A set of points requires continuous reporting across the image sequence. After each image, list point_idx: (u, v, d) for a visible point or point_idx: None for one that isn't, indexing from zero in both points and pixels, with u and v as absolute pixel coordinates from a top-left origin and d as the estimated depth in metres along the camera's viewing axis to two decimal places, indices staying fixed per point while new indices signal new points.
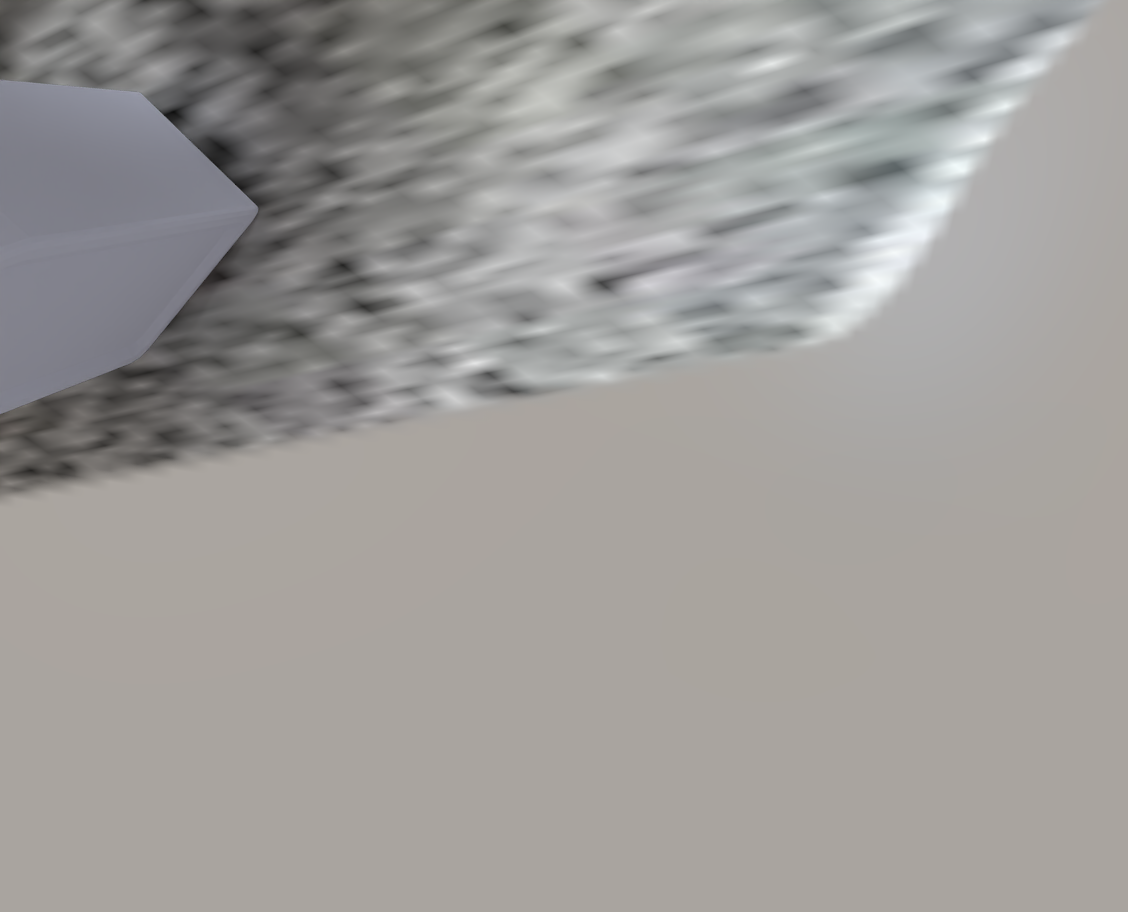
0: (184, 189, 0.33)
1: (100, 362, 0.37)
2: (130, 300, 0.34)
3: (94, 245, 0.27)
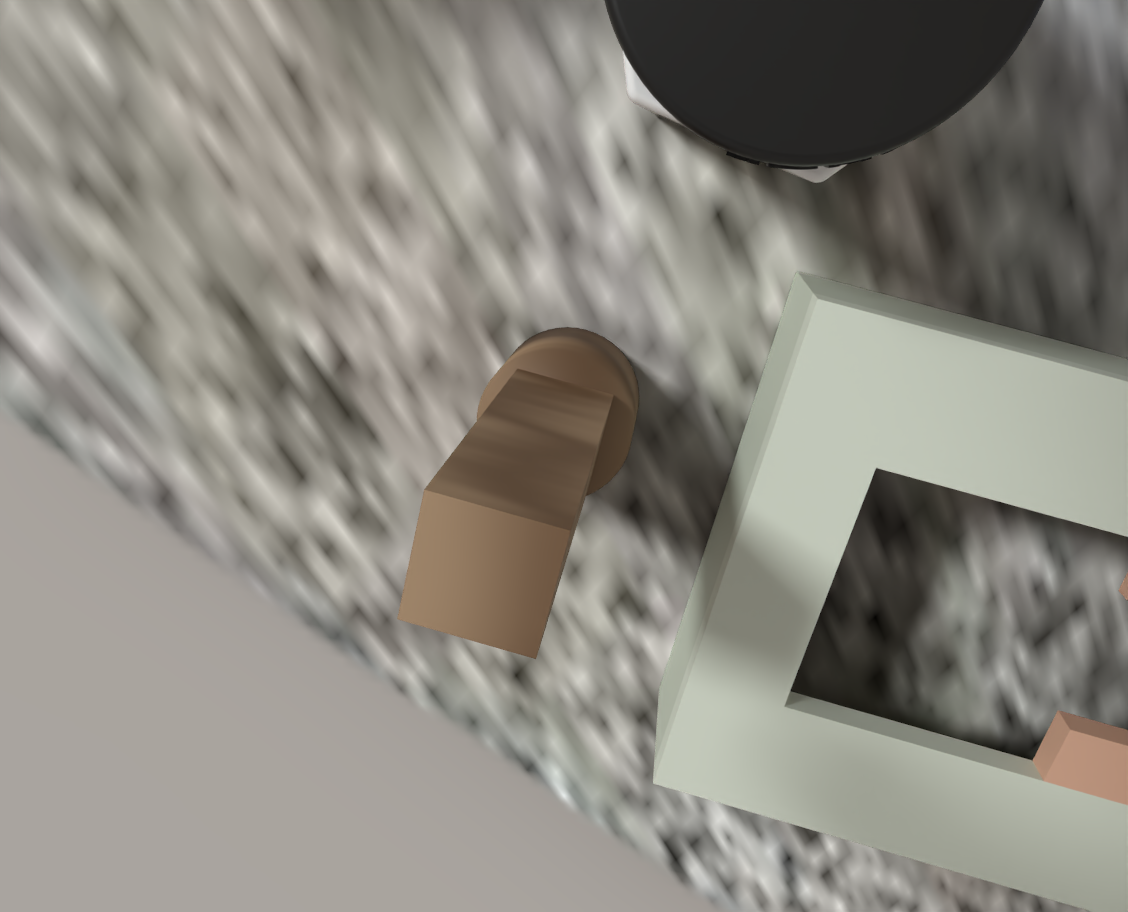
0: None
1: None
2: None
3: None
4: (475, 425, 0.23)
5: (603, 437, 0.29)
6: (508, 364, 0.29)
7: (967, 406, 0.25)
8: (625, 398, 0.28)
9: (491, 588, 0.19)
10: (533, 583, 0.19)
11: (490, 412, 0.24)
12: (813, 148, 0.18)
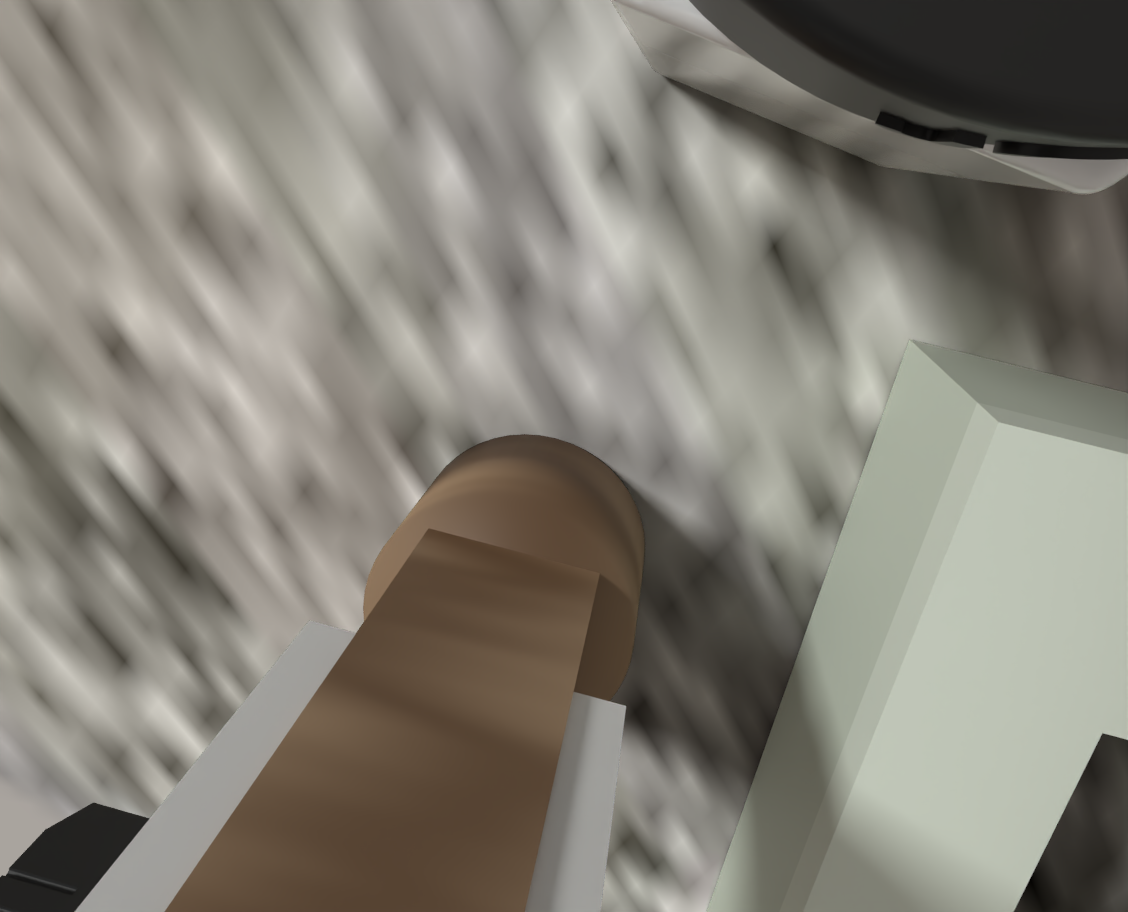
0: None
1: None
2: None
3: None
4: (289, 736, 0.10)
5: (583, 643, 0.16)
6: (412, 521, 0.16)
7: None
8: (620, 579, 0.16)
9: None
10: None
11: (339, 678, 0.12)
12: None
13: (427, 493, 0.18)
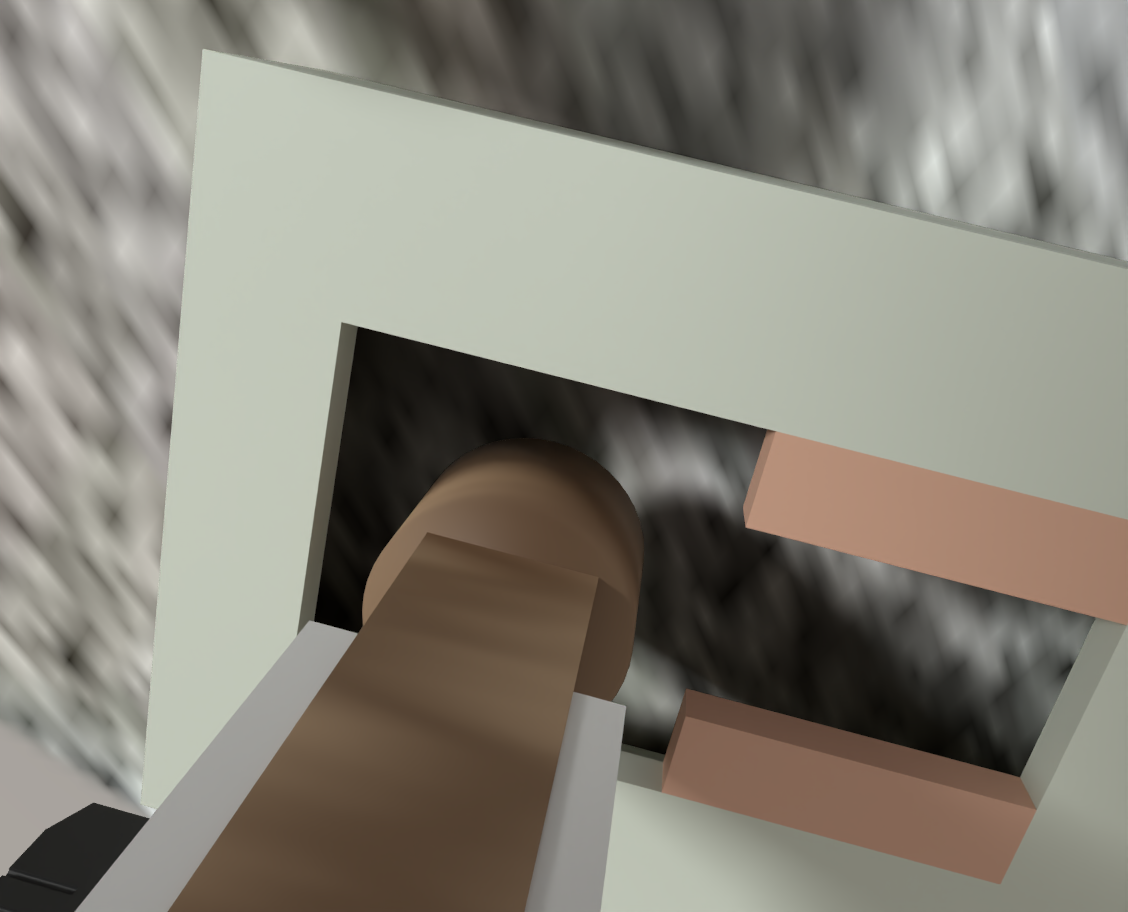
0: None
1: None
2: None
3: None
4: (287, 742, 0.10)
5: (582, 647, 0.16)
6: (411, 525, 0.16)
7: (453, 216, 0.16)
8: (619, 583, 0.16)
9: None
10: None
11: (337, 683, 0.12)
12: None
13: (426, 496, 0.18)
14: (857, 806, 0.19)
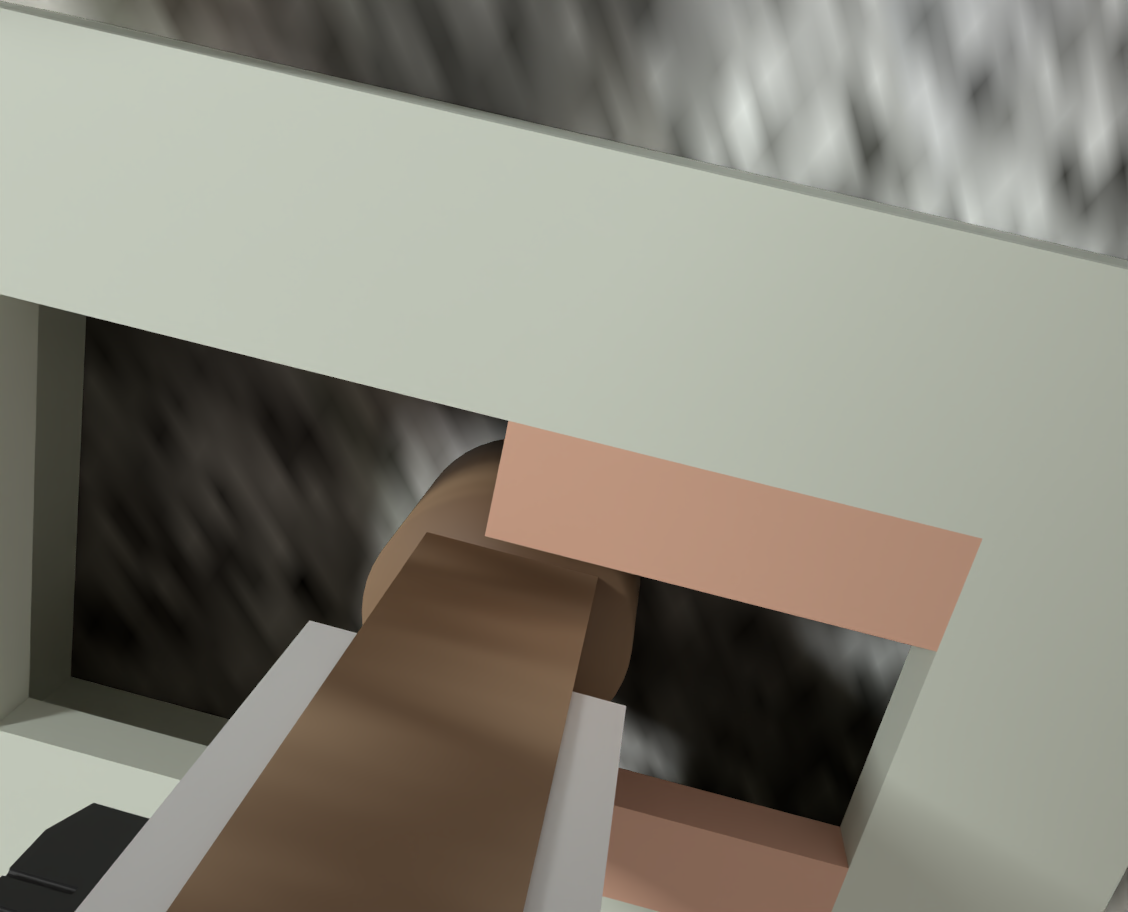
0: None
1: None
2: None
3: None
4: (286, 741, 0.10)
5: (582, 647, 0.16)
6: (411, 525, 0.16)
7: (108, 162, 0.13)
8: (619, 583, 0.16)
9: None
10: None
11: (336, 683, 0.12)
12: None
13: (425, 496, 0.18)
14: (644, 863, 0.16)
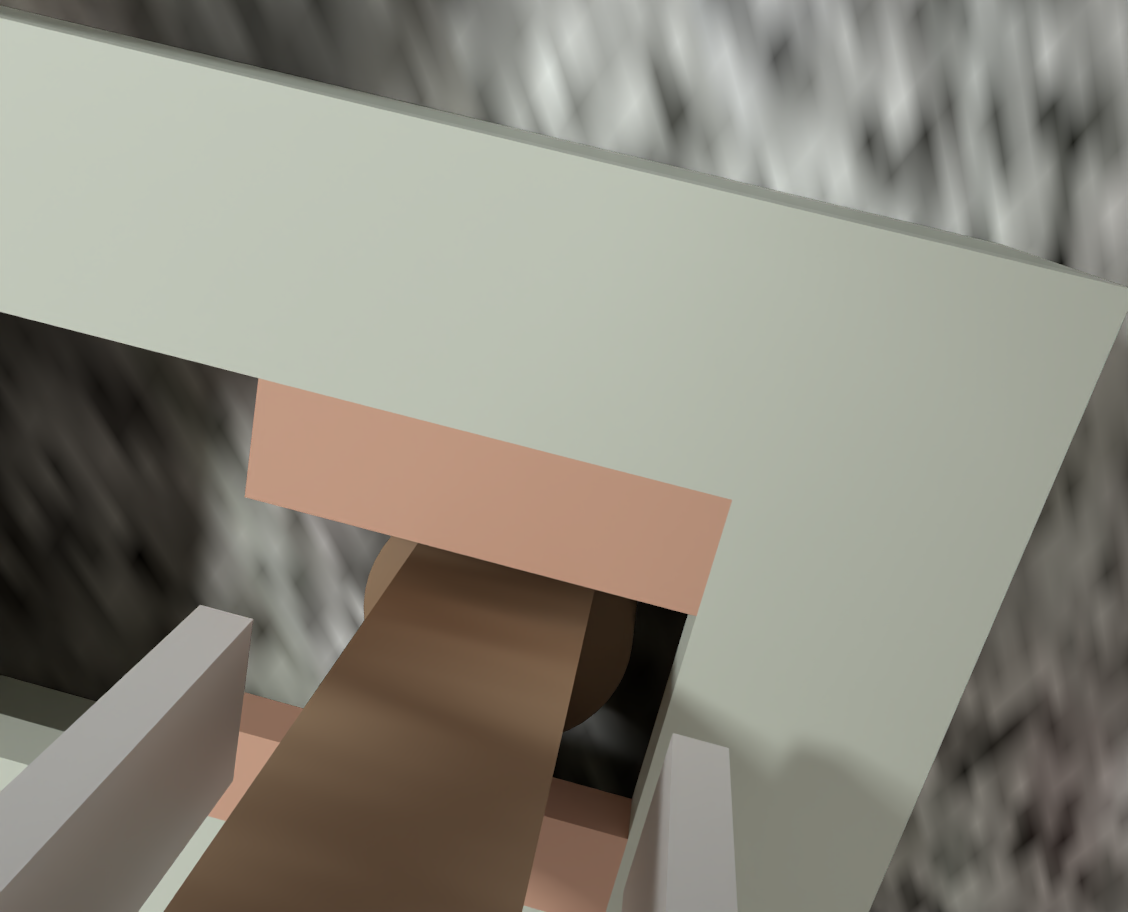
0: None
1: None
2: None
3: None
4: (290, 732, 0.11)
5: (582, 642, 0.16)
6: None
7: None
8: None
9: None
10: None
11: (340, 675, 0.12)
12: None
13: None
14: None
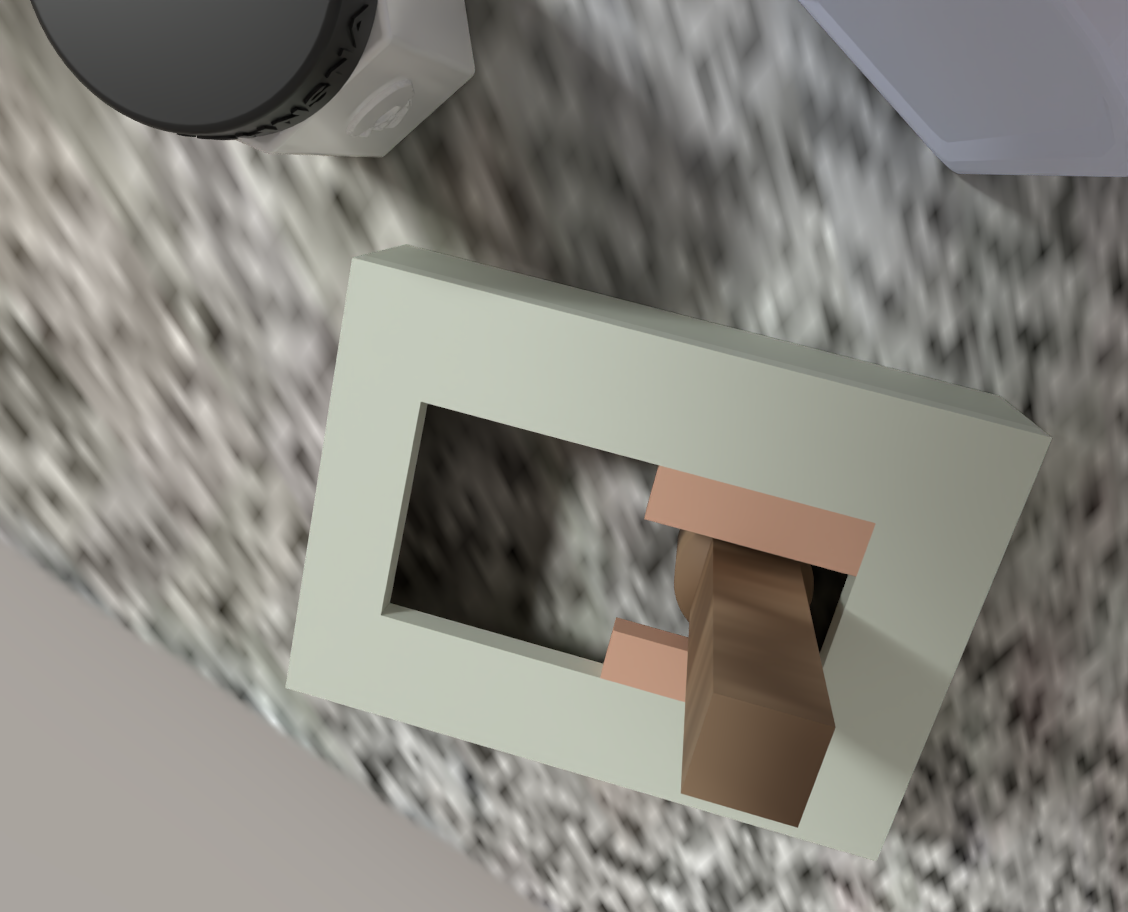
0: None
1: None
2: None
3: None
4: (714, 611, 0.27)
5: None
6: None
7: (483, 346, 0.30)
8: None
9: (764, 770, 0.23)
10: (800, 767, 0.23)
11: (717, 594, 0.28)
12: (198, 120, 0.23)
13: None
14: None
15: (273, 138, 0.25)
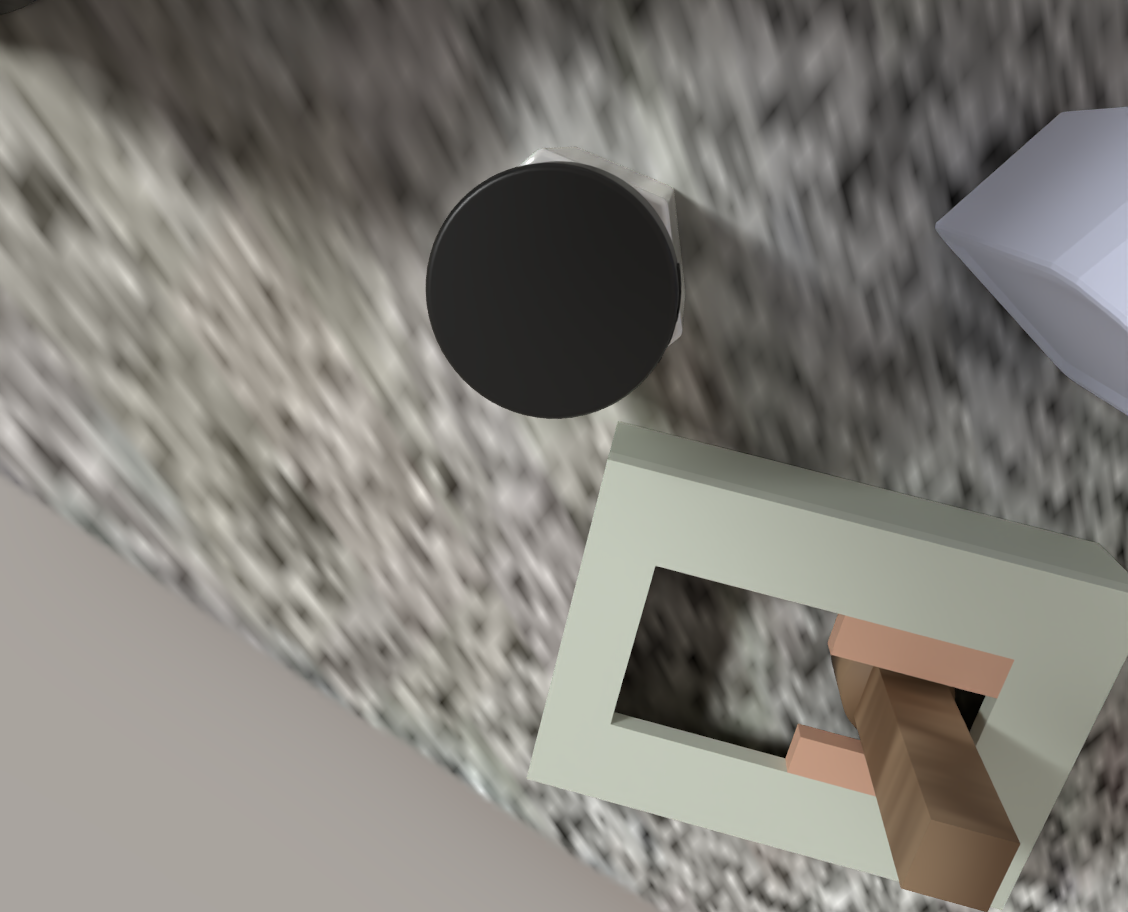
0: (1074, 132, 0.33)
1: None
2: None
3: None
4: (904, 740, 0.36)
5: None
6: None
7: (709, 526, 0.38)
8: None
9: (964, 873, 0.32)
10: (992, 871, 0.32)
11: (900, 722, 0.37)
12: (554, 410, 0.31)
13: None
14: None
15: None
